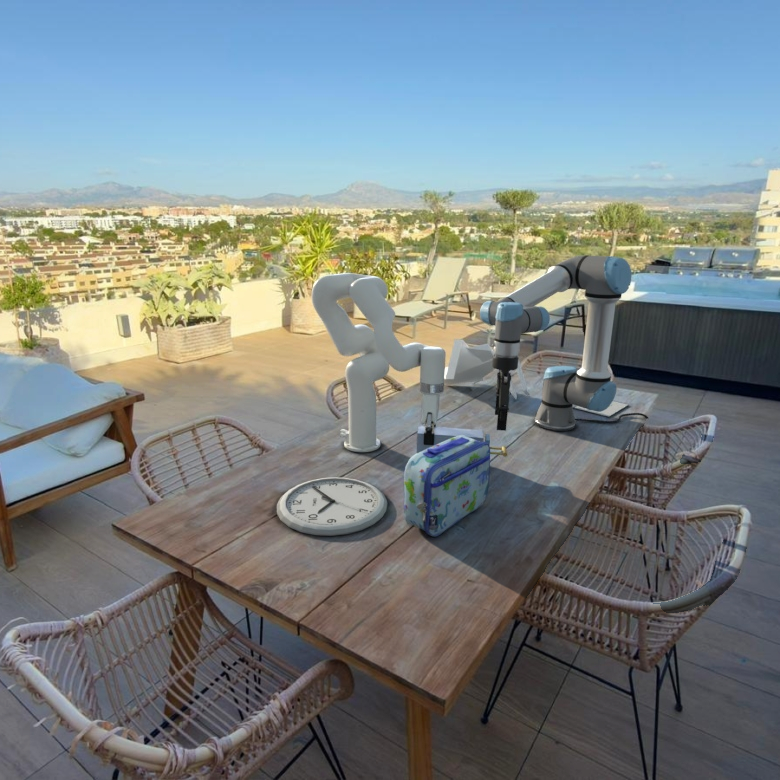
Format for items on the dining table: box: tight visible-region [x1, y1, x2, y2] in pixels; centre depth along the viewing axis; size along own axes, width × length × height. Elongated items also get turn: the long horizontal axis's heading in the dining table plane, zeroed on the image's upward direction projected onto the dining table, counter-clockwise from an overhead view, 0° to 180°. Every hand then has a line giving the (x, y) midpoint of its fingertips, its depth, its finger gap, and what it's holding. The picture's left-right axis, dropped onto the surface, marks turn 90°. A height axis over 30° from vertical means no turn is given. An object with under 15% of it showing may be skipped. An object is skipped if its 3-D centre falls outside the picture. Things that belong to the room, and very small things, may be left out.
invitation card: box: [573, 400, 629, 418], centre depth 226 cm, size 21×1×15 cm
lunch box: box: [403, 435, 491, 538], centre depth 134 cm, size 26×11×21 cm, turn 134°
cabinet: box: [416, 425, 485, 454], centre depth 167 cm, size 20×7×11 cm, turn 82°
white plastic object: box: [444, 338, 531, 400], centre depth 245 cm, size 37×45×31 cm
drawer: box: [484, 433, 508, 458], centre depth 166 cm, size 25×5×10 cm, turn 82°
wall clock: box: [276, 476, 388, 537], centre depth 142 cm, size 30×2×30 cm
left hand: (429, 439), depth 167 cm, fingers open, 6 cm apart
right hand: (500, 422), depth 162 cm, fingers open, 13 cm apart
